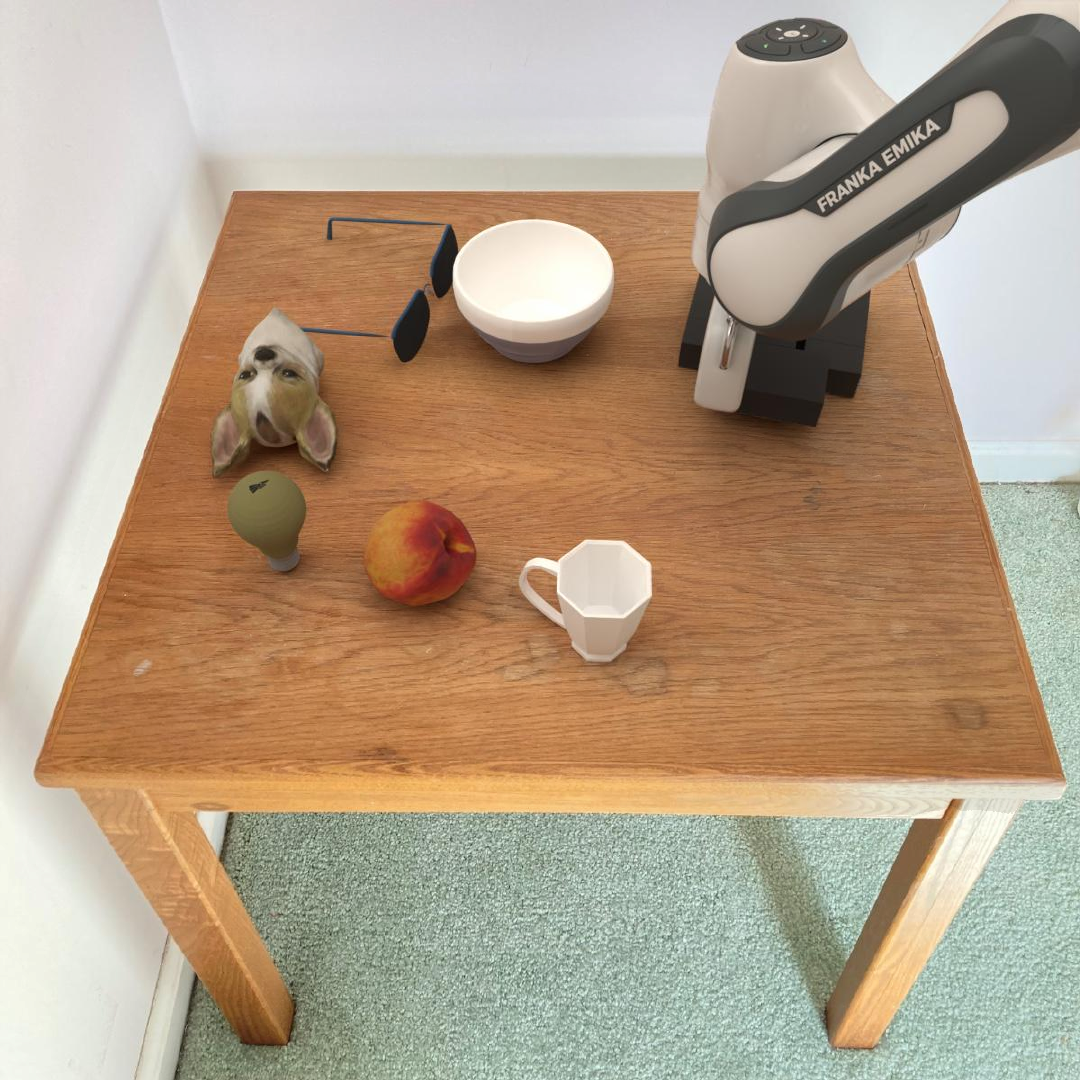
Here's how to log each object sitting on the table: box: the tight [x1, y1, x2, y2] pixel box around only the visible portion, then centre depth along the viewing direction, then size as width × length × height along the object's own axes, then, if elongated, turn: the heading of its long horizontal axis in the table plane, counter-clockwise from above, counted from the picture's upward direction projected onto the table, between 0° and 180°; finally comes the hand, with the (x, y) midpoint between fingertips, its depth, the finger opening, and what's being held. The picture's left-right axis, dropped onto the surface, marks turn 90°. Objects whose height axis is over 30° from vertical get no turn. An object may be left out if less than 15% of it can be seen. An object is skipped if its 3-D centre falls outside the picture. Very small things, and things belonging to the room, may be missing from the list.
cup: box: [518, 539, 653, 663], centre depth 75 cm, size 7×10×8 cm
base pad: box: [677, 272, 872, 399], centre depth 96 cm, size 16×12×3 cm
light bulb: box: [227, 470, 307, 572], centre depth 77 cm, size 6×6×10 cm
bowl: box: [452, 218, 615, 364], centre depth 94 cm, size 14×14×8 cm
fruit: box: [362, 500, 478, 607], centre depth 77 cm, size 8×8×8 cm
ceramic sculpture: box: [209, 306, 339, 478], centre depth 87 cm, size 11×9×15 cm
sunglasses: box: [299, 216, 459, 364], centre depth 99 cm, size 17×15×5 cm
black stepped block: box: [733, 332, 830, 428], centre depth 90 cm, size 10×9×3 cm
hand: (724, 371), depth 89 cm, fingers closed on black stepped block, 6 cm apart
